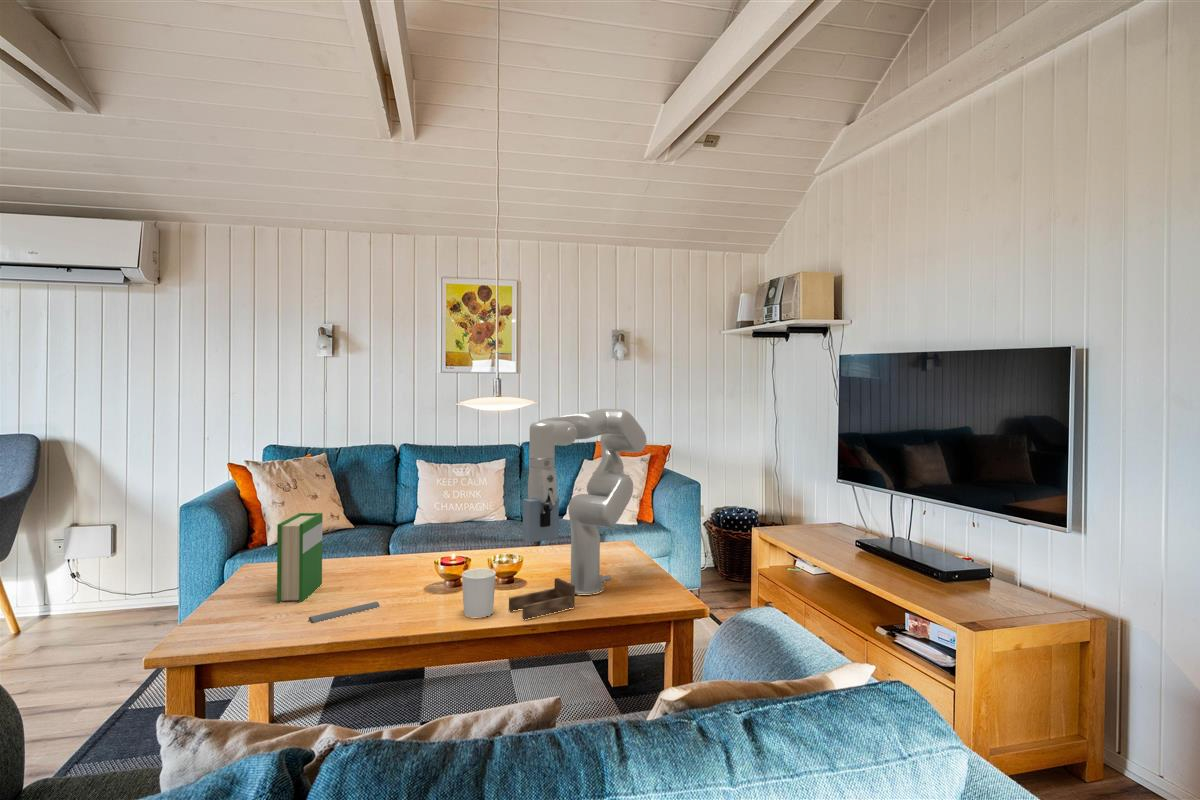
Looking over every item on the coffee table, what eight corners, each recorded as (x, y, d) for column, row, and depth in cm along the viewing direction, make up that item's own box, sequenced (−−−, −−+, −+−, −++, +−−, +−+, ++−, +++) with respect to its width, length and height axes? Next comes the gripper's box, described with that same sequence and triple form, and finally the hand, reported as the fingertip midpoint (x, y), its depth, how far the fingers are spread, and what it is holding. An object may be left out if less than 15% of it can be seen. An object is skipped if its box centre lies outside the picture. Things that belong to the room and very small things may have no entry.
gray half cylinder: (380, 609, 187) (380, 603, 187) (312, 625, 173) (312, 619, 173) (374, 605, 190) (374, 599, 190) (307, 621, 176) (307, 615, 176)
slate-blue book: (551, 535, 190) (551, 496, 190) (558, 538, 187) (558, 498, 187) (522, 539, 184) (523, 499, 184) (529, 542, 181) (529, 501, 181)
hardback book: (302, 602, 190) (302, 524, 189) (276, 603, 189) (277, 524, 189) (321, 584, 207) (322, 513, 207) (298, 585, 207) (299, 513, 206)
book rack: (557, 600, 195) (557, 578, 195) (574, 608, 188) (574, 585, 188) (508, 611, 185) (509, 587, 185) (524, 620, 177) (524, 596, 177)
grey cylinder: (462, 621, 177) (463, 579, 176) (460, 609, 186) (460, 569, 186) (497, 618, 179) (497, 576, 179) (493, 606, 189) (493, 567, 189)
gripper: (567, 466, 181) (567, 528, 181) (538, 460, 194) (537, 518, 194) (545, 467, 176) (545, 532, 177) (517, 461, 190) (516, 521, 190)
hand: (541, 524), depth 186 cm, fingers closed on slate-blue book, 4 cm apart
